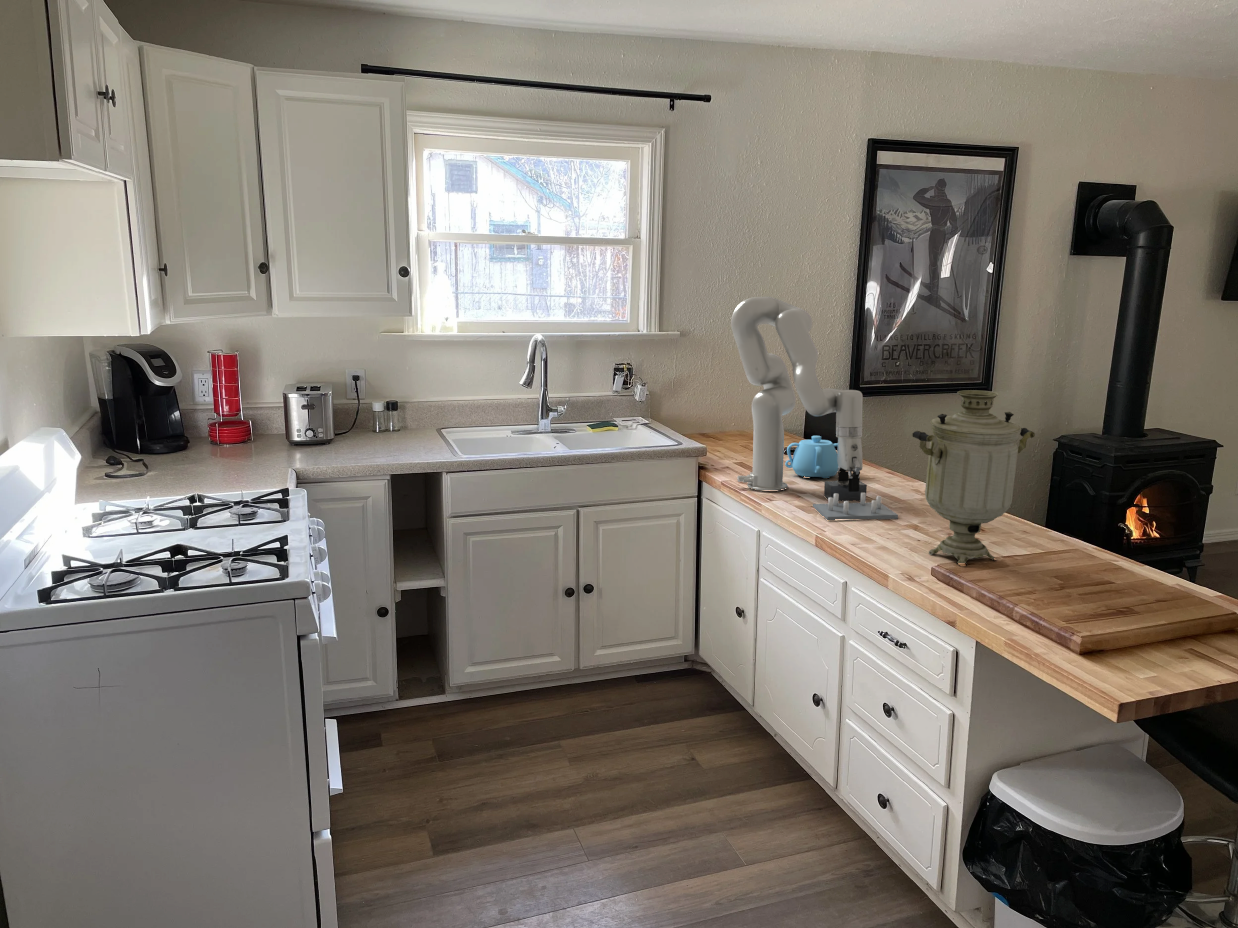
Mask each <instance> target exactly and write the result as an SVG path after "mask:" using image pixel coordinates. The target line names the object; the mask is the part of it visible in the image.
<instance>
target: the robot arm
mask: <svg viewBox="0 0 1238 928" xmlns="http://www.w3.org/2000/svg"><path fill="white" fill-rule="evenodd" d="M730 319H731V320H730V328H731V331H732V332H731V333H732V335H733V338H734V341H735V344H736V346H737V351H738V354H739V357H740V361H741V364H742V367H743V371H744V373H745V376H746V379H747V381H748V382H749V384H751V385H753V386H757V387H758V386H759V387H760V386H762V387H763V389H762V390H760V391H758V392H757V393H756V394H755V395H754V397H753V399H752V401H751V414H752V415H751V416H752V423H753V424H752V425H753V433H752V434H753V443H752V471H750V472H749V474H746V475H737V477H736V478H737V482H739V483H740V482H741V483H743V484H744V483H746V485H747V486H748V487H749V488H752V489H756V490H781V489H785V488H787V489H788V483H786V482H784V481H783V480H784V479H783V478H784V451H785V450H784V448H785V428H784V421H783V417H784V416H785V415H788V414H790V413H791V412H793V410H794V408H795V407H796V403H797V402H796V400H797V399H796V394H797V395H798V398H799V400H800V402H801V404H802V406H803V407H804V409H805V410H806V411H807V413H808V414H809V415H811V416H813V417H822V416H825V415H827V414H831V413H836V414H835V422H836V423H835V434H836V435H835V437H836V438H837V443H838V446H836V447H837V450H836V452H837V463H838V472H837V481H848V491H849V492H857V491H859V483H860V481H861V480H860V478H861V475H860V474H861V471H862V470H863V464H864V463H863V446H862V444H863V443H862V437H863V400H864V399H863V397H864V396H863V393H862V392H861V391H860V390H856V389H836V388H831V387H826V388H823V389H822V386H821V383H820V382H819V380H818V379H819V378H818V376H817V372H816V370H817V369H816V368H817V367H816V366H817V363H818V360H819V359H818V358H819V351H818V349H817V346H816V345H815V343H814V341H813V338H812V336H811V335H810V331H811V330H812V327H813V319H812V316H811V315H810V313H809V311H807V310H805V309H803V308H801V307H798V306H796V305H793V304H791V303H788V302H787V301H784V300H782V299H779V298H776V297H773V296H753V297H749V298H746V299H744V300H742V301H741V302H739V304H738V305H737V306H736V307H735V309H734V311H733V313H732V315H731V318H730ZM759 325H770V326H772V327H774V328H775V330H776V333H777V335H778V337H779V339H780V342H781V344H782V345H783V348H784V350H785V352H786V354H787V356H788V359H789V362H790V363H791V366H792V367H791V368H792V377H793V382H792V380H791V376H790V373H789V371H788V367H787V365H786V362H785V361H784V359H783V358H782V357H781V356H779V355H778V354H775V353H772V352H771V353H769V352H768V349H767V346H766V343H765V340H764V337H763V335H762V334H761V332H760V331H759ZM793 383H794V387H793ZM794 388H795V390H796V393H795V390H794ZM747 486H746V487H747ZM748 487H747V488H748ZM749 488H748V489H749ZM752 489H751V490H752Z"/></svg>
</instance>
